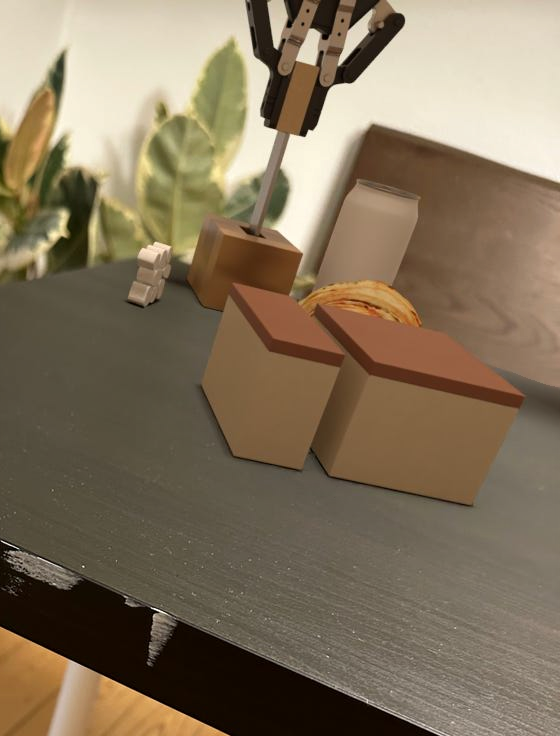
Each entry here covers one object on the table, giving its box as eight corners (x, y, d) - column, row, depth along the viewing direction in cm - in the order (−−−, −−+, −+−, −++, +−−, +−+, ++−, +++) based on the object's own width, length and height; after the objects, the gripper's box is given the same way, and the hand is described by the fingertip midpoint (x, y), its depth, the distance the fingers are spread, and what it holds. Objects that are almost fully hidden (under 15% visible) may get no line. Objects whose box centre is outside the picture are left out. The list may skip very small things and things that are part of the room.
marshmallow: (142, 308, 77) (157, 250, 75) (126, 302, 77) (140, 245, 75) (162, 300, 81) (177, 245, 79) (147, 294, 81) (161, 240, 79)
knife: (257, 243, 86) (311, 65, 79) (264, 250, 84) (321, 67, 76) (236, 238, 86) (289, 59, 78) (242, 244, 83) (297, 60, 76)
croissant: (355, 462, 67) (451, 382, 63) (255, 359, 66) (346, 270, 62) (366, 384, 85) (442, 318, 81) (288, 301, 84) (360, 229, 79)
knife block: (256, 296, 92) (277, 230, 89) (279, 324, 84) (303, 253, 80) (186, 279, 91) (205, 212, 88) (202, 306, 83) (224, 233, 79)
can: (358, 344, 84) (414, 199, 78) (292, 319, 87) (341, 176, 80) (379, 336, 89) (434, 199, 83) (316, 313, 92) (365, 178, 85)
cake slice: (258, 397, 63) (292, 296, 60) (301, 470, 53) (346, 354, 50) (200, 384, 63) (232, 282, 59) (233, 456, 53) (273, 337, 49)
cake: (403, 429, 65) (445, 333, 62) (471, 506, 55) (526, 396, 52) (281, 402, 64) (316, 302, 60) (328, 476, 54) (374, 361, 50)
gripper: (285, -163, 67) (212, 115, 76) (467, -106, 69) (374, 157, 78) (263, -148, 73) (198, 107, 82) (431, -96, 75) (349, 146, 84)
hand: (284, 130), depth 80 cm, fingers closed on knife, 2 cm apart
